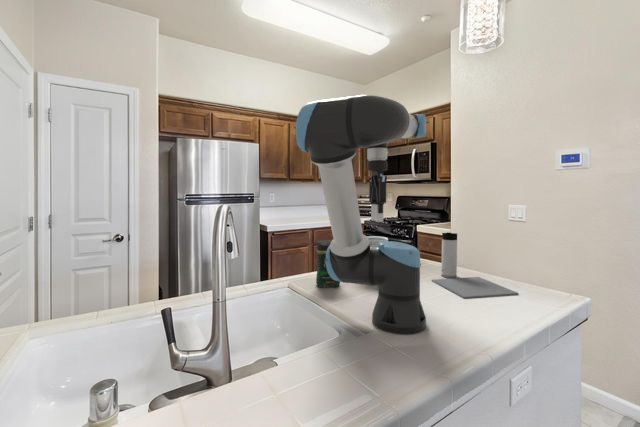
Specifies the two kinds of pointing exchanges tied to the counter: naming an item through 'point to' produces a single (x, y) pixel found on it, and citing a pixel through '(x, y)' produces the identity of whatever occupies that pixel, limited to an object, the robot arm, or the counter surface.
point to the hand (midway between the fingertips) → (377, 221)
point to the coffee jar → (324, 266)
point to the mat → (473, 287)
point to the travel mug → (449, 255)
